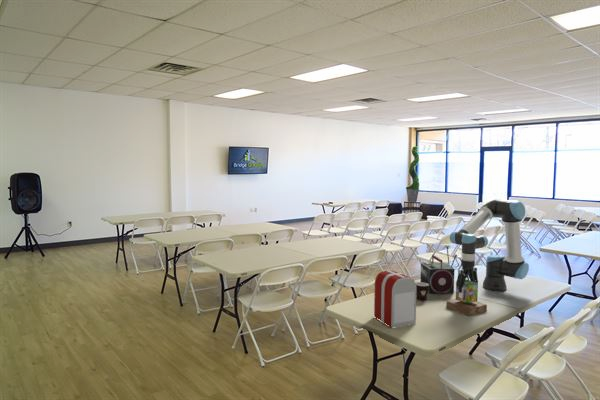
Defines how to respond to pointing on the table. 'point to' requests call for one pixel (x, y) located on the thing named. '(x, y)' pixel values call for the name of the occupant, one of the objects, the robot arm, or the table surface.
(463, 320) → the table surface
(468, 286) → the chalk box
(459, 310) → the walnut base
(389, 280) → the red white striped case
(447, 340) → the table surface
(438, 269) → the boombox
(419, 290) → the coffee mug
